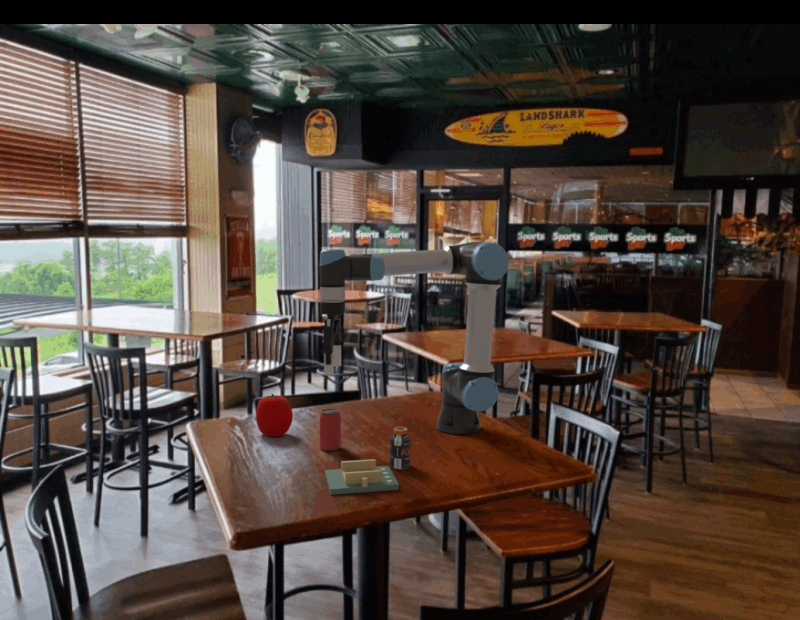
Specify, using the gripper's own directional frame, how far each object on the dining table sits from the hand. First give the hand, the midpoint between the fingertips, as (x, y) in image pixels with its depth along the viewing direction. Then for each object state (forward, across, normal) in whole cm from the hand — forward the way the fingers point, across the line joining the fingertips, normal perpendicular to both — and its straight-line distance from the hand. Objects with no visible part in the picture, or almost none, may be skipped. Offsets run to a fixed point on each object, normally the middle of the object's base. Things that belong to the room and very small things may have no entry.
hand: (333, 370), depth 197 cm
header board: (+26, +24, +12) cm, 37 cm away
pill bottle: (+26, +11, +21) cm, 35 cm away
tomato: (+26, -15, -23) cm, 37 cm away
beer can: (+26, -3, -2) cm, 26 cm away
